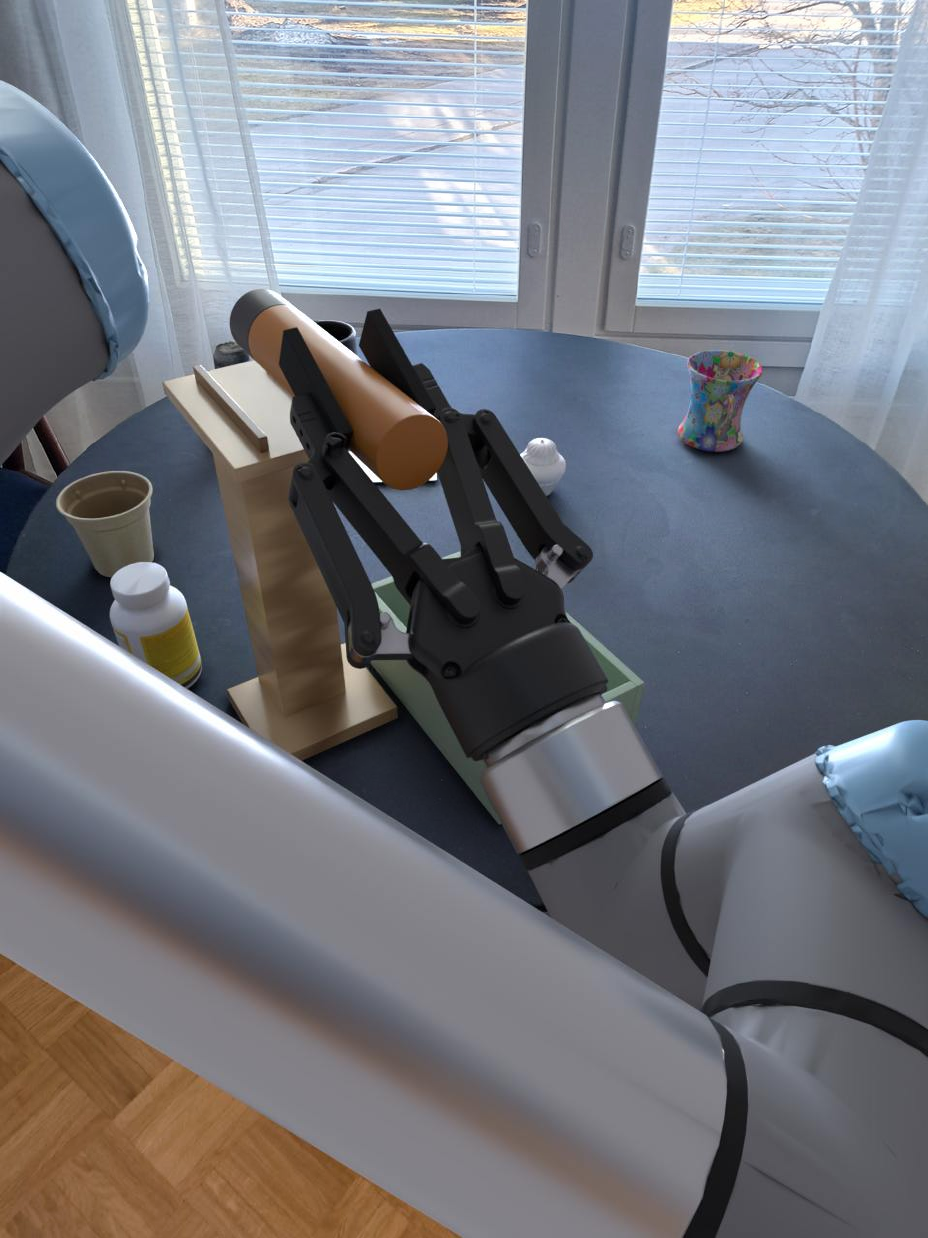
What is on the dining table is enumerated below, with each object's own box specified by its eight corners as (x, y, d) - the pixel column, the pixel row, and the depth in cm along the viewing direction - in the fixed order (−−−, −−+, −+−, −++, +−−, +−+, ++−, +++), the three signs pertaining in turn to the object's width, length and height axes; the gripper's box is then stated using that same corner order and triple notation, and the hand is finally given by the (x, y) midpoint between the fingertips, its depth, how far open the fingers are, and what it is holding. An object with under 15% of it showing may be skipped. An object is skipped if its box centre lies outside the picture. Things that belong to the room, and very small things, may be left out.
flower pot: (81, 543, 97) (59, 476, 92) (168, 531, 99) (152, 465, 94) (76, 594, 90) (51, 525, 85) (170, 580, 92) (152, 512, 87)
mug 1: (297, 367, 132) (292, 321, 128) (357, 363, 133) (353, 317, 129) (298, 403, 123) (292, 355, 119) (362, 399, 124) (359, 351, 120)
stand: (282, 790, 72) (215, 459, 51) (221, 687, 80) (144, 370, 60) (409, 732, 76) (394, 409, 56) (338, 641, 85) (303, 334, 65)
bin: (499, 825, 69) (503, 752, 63) (366, 659, 84) (360, 587, 78) (630, 755, 75) (644, 682, 69) (485, 611, 89) (487, 540, 83)
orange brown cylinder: (377, 499, 42) (375, 424, 40) (233, 357, 54) (225, 293, 52) (447, 479, 44) (449, 406, 42) (292, 346, 56) (287, 284, 54)
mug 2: (669, 422, 120) (682, 348, 113) (737, 424, 120) (754, 350, 113) (681, 467, 111) (696, 390, 104) (754, 470, 111) (775, 392, 104)
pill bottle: (218, 667, 82) (194, 570, 75) (168, 710, 78) (137, 611, 71) (167, 643, 85) (140, 546, 77) (116, 683, 81) (82, 585, 73)
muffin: (545, 472, 110) (549, 422, 105) (573, 495, 106) (579, 444, 101) (503, 485, 107) (506, 434, 103) (530, 509, 103) (534, 457, 99)
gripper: (366, 826, 40) (171, 418, 46) (645, 686, 47) (448, 347, 53) (400, 792, 34) (167, 320, 39) (719, 636, 41) (485, 254, 46)
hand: (329, 337), depth 46 cm, fingers closed on orange brown cylinder, 4 cm apart
